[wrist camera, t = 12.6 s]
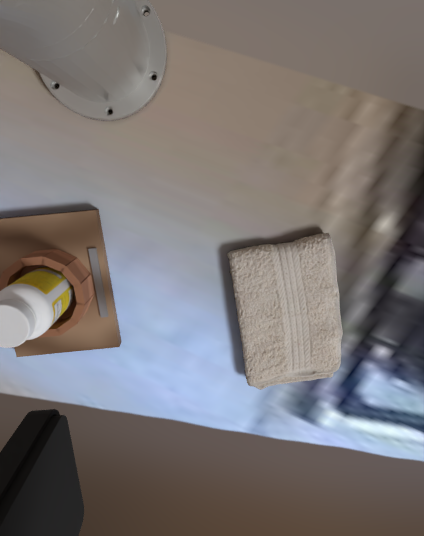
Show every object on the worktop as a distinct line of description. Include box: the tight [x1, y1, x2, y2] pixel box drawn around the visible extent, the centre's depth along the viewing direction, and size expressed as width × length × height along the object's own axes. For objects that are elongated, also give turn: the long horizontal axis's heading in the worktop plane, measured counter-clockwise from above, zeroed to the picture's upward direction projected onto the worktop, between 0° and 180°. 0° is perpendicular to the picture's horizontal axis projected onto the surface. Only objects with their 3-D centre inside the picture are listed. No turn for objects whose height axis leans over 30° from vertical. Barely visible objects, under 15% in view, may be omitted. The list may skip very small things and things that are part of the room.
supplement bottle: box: [0, 266, 75, 348], centre depth 35 cm, size 5×5×10 cm
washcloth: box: [227, 233, 343, 390], centre depth 42 cm, size 12×18×3 cm, turn 10°
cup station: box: [0, 209, 121, 357], centre depth 39 cm, size 16×12×5 cm
